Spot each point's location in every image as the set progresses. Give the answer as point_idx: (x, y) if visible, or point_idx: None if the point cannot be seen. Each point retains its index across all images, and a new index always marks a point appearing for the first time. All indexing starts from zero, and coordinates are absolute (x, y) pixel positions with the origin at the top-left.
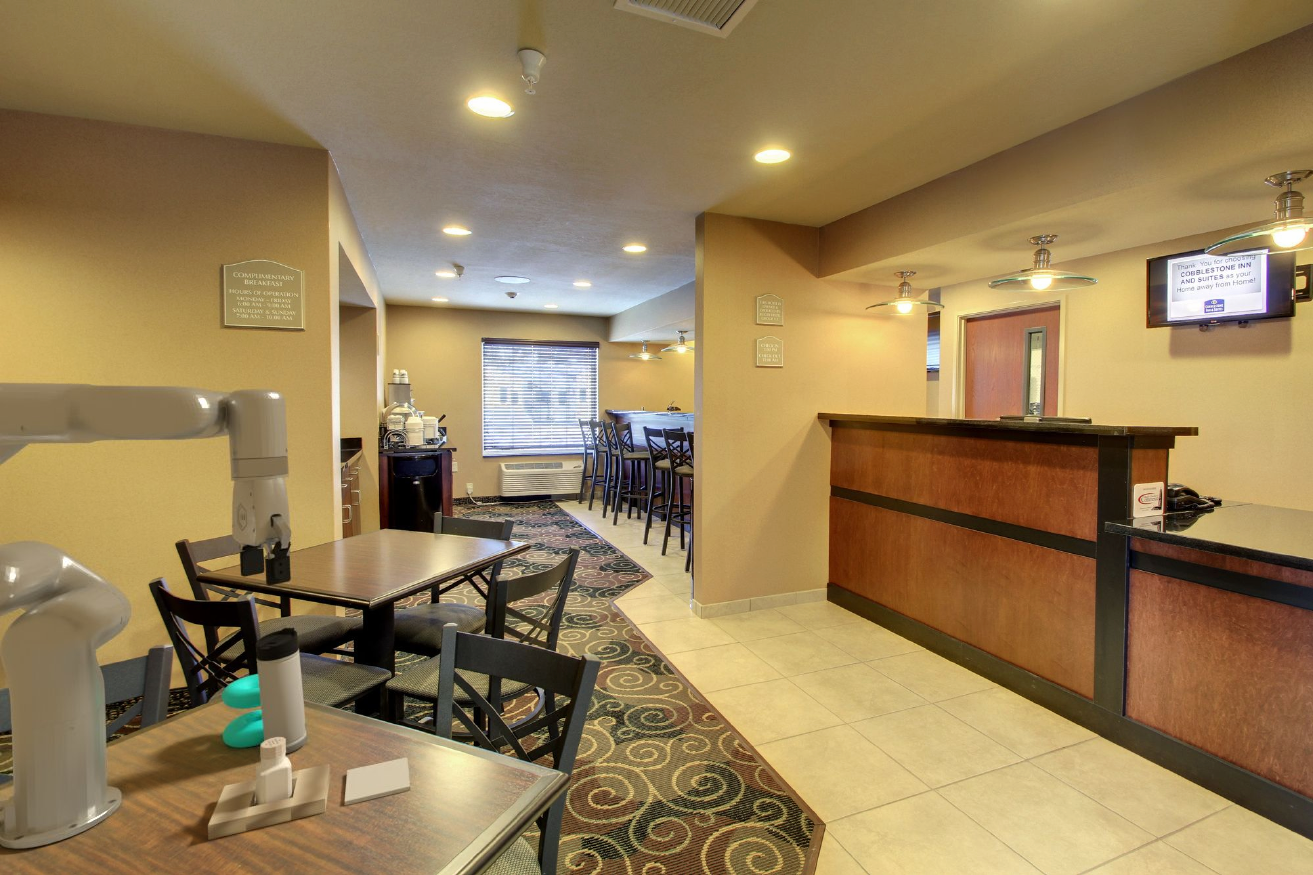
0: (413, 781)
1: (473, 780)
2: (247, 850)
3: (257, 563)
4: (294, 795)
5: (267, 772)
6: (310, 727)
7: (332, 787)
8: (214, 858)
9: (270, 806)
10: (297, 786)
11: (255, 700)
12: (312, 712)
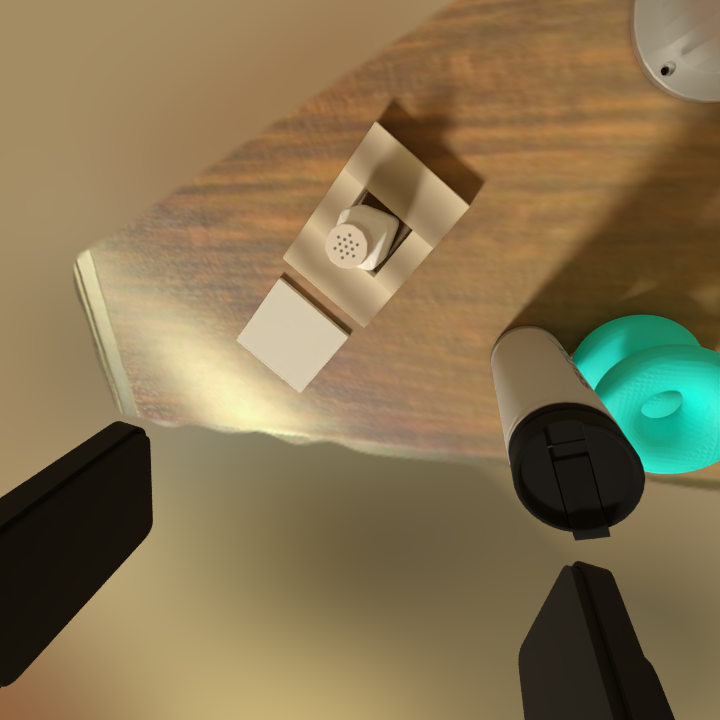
0: (252, 355)
1: (192, 383)
2: (303, 142)
3: (542, 713)
4: None
5: (341, 218)
6: None
7: None
8: (327, 104)
9: (335, 205)
10: None
11: (608, 373)
12: None
